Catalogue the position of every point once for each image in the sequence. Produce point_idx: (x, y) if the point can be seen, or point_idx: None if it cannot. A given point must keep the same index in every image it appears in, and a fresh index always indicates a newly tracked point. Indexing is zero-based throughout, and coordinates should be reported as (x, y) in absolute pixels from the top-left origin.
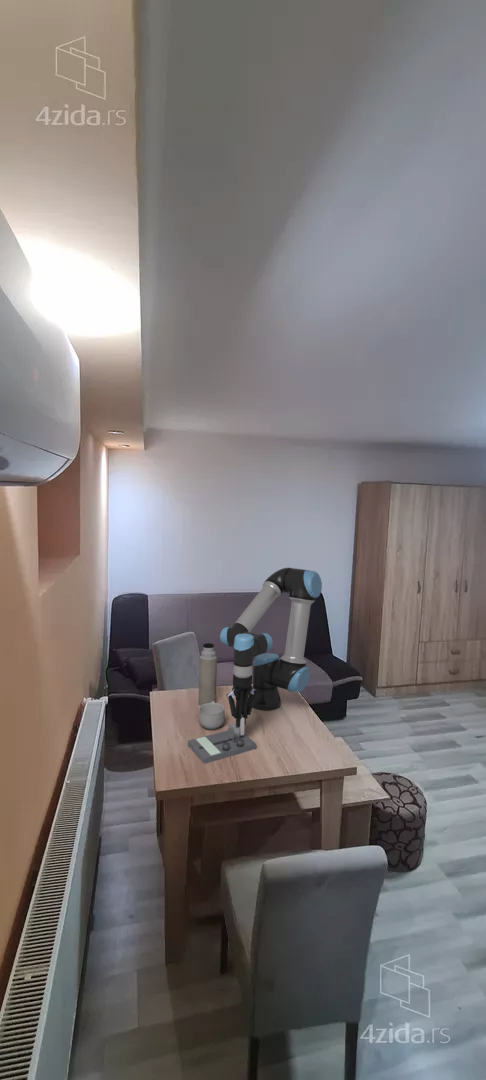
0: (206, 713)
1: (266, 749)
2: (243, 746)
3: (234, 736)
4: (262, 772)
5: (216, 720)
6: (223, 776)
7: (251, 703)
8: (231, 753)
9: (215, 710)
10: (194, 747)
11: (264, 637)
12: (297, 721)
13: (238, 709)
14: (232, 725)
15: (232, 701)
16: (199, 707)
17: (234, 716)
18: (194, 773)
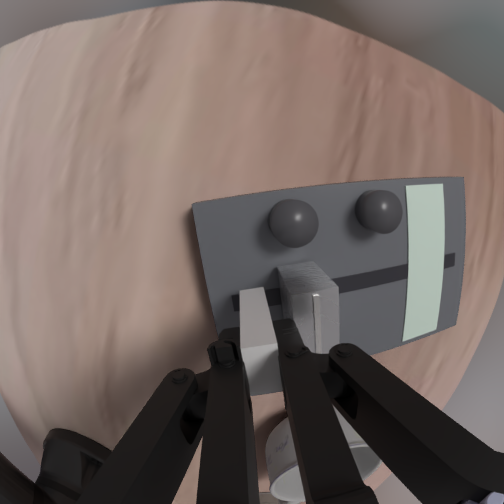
0: None
1: (147, 181)
2: (276, 198)
3: (316, 270)
4: (255, 22)
5: None
6: (409, 70)
7: (135, 459)
8: (348, 182)
9: (287, 477)
10: (463, 269)
11: None
12: (4, 342)
13: (332, 414)
14: (324, 337)
15: (485, 457)
16: (364, 479)
17: (364, 352)
18: (477, 140)
